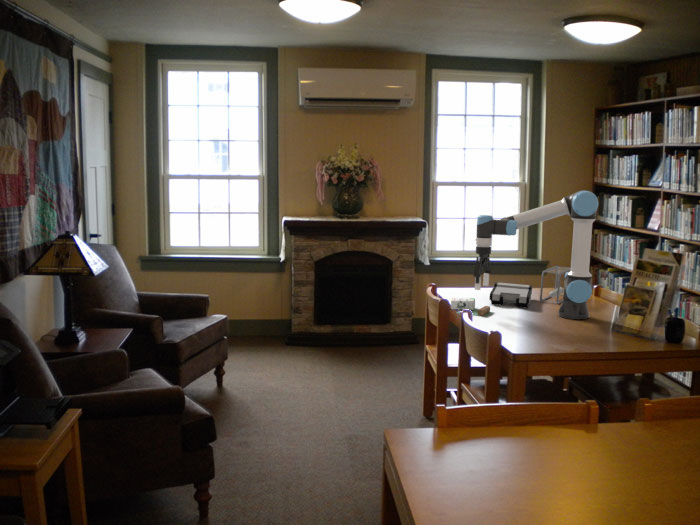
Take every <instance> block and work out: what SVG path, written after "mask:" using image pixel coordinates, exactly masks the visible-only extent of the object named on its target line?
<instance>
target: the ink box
mask: <svg viewBox="0 0 700 525" xmlns="http://www.w3.org/2000/svg"><path fill="white" fill-rule="evenodd" d="M450 306H451V310H456V309H458V311H460V310H463V309H469V310H475V308H476V298H474V297H473V298H472V297H470V298H469V297H466V298H465V297H464V298H463V297H458V298H457V297H452V298H451V300H450Z"/></svg>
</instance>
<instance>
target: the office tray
mask: <svg viewBox="0 0 700 525" xmlns="http://www.w3.org/2000/svg"><path fill="white" fill-rule="evenodd" d="M532 292H533V285H531V284H530V285H529V284H518V283H507V282H506V283H505V282H497V281H496V282H494V284H493V288H492V289H491V291H490V292H489V298H488V299H489V301H490V302H491V304H490V305H493V306H494V305H495V306H503V305H504V304H505V303H509V304H510V303H513V304H515V308H524V307H525V308H526V309H528V306H529V305H530V302H531V299H532V295H533V294H532Z"/></svg>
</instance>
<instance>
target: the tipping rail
mask: <svg viewBox="0 0 700 525" xmlns="http://www.w3.org/2000/svg"><path fill="white" fill-rule="evenodd" d="M477 310H478V316H477V317H480V316H484V315H486V314H488V313H489V312H491V306H489V305H484V306H482V307H481V308H479V309H477Z"/></svg>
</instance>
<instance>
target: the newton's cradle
mask: <svg viewBox="0 0 700 525" xmlns="http://www.w3.org/2000/svg"><path fill="white" fill-rule="evenodd" d="M570 270H571V267H564V266H559V265H555V266H553V267H552V266H551V267H549V268H547V269H545V270H542V273H541V280H540V291H539V292H540V293H539V300H540V301H539V302H541V301H542V302H547V303H552V304H553V303H554V304H557V305H560V304H562V302H563V299H561V300H559V298H560V295H561V296H562V297H563V294H564V287H563V286H562V285H563V284H564V282H565V279H564V278H565V274H566V272H570ZM545 273H550V274H555V277H552V278H550V280H551V283H552V282H554V287H553V289H551V291H550V292H549V295H548V296H546V297H544V298H543V288H544V277H545ZM563 277H564V278H563ZM554 278H555V279H554ZM552 279H553V280H552ZM555 297H556V301H549V299H550V298H553V299H554V298H555Z"/></svg>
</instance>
